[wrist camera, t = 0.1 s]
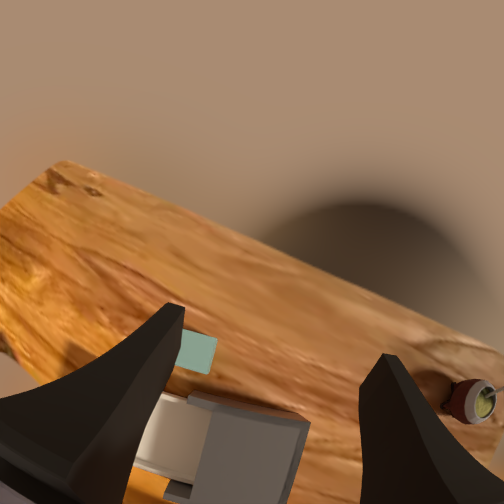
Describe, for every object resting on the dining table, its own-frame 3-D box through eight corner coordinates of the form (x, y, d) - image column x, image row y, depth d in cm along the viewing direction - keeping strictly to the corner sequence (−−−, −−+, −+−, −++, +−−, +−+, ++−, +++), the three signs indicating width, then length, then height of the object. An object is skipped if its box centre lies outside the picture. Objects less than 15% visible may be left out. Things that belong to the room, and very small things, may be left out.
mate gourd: (439, 427, 39) (503, 438, 25) (435, 381, 41) (501, 381, 27) (472, 411, 40) (535, 415, 25) (468, 368, 42) (533, 361, 28)
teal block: (209, 372, 40) (206, 374, 36) (176, 363, 40) (170, 363, 36) (217, 340, 42) (216, 338, 37) (184, 331, 42) (180, 327, 38)
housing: (272, 501, 34) (279, 522, 28) (171, 480, 35) (162, 498, 28) (298, 413, 39) (310, 422, 33) (194, 389, 39) (188, 395, 33)
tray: (204, 486, 34) (201, 502, 29) (89, 447, 35) (72, 456, 29) (227, 402, 39) (227, 408, 33) (107, 364, 39) (91, 364, 34)
